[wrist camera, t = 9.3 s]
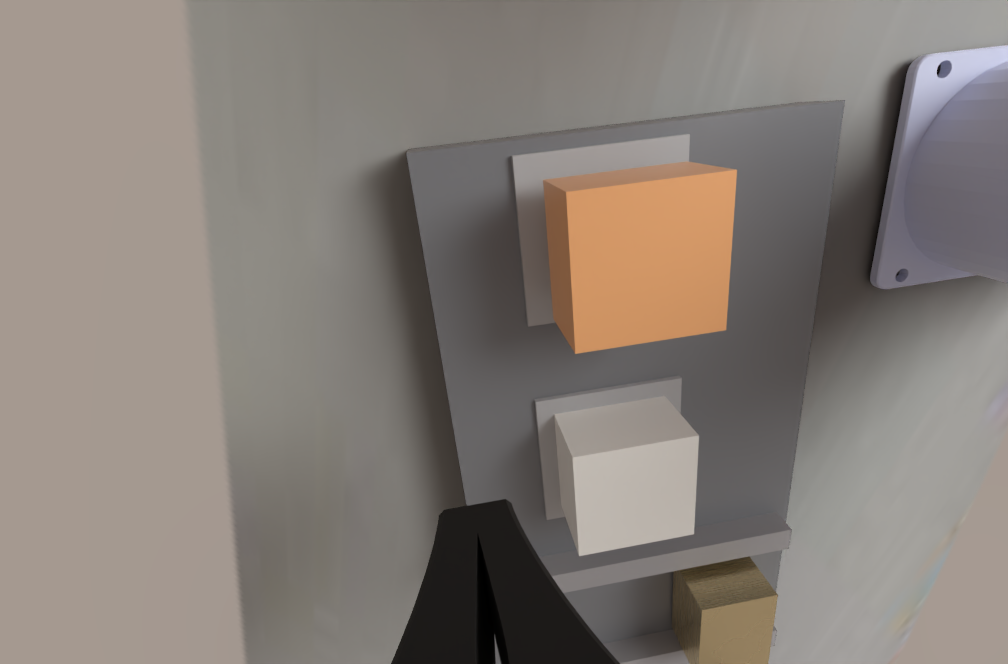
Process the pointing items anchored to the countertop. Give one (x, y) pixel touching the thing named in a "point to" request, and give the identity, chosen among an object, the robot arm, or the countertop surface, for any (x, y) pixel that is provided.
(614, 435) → the off-white button
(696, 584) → the wood grain block
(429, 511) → the countertop surface
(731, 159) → the grey ridged tray
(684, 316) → the orange button
